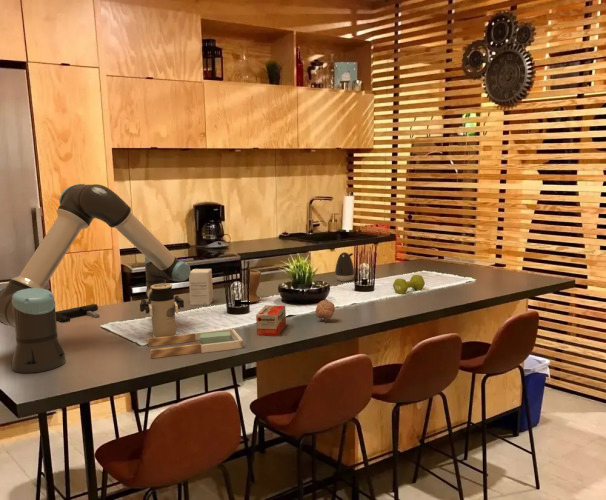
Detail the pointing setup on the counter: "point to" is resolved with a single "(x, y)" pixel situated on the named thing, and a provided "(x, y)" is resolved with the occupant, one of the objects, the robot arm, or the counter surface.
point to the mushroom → (325, 310)
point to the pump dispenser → (344, 267)
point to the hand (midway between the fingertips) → (164, 310)
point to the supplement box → (201, 287)
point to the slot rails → (173, 350)
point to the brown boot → (254, 285)
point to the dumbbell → (408, 284)
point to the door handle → (77, 313)
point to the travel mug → (163, 310)
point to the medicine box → (271, 320)
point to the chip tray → (222, 345)
